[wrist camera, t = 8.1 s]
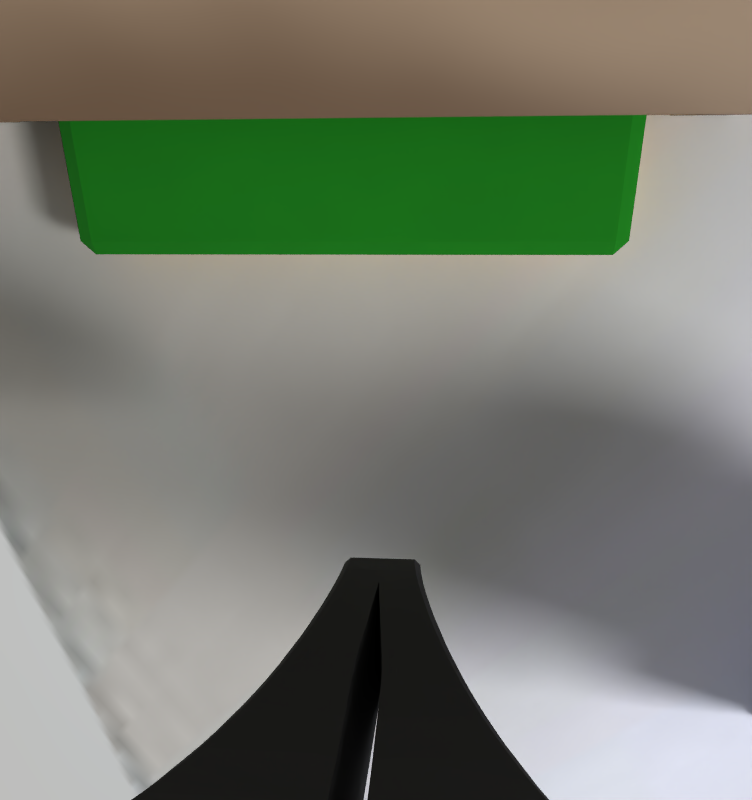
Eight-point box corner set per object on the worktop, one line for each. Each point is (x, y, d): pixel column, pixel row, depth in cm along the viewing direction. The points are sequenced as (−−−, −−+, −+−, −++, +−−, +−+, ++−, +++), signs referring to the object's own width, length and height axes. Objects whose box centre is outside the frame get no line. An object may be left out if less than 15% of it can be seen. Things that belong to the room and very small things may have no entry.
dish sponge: (73, -51, 16) (17, -79, 14) (641, -68, 15) (679, -100, 13) (120, 239, 19) (80, 254, 17) (602, 239, 18) (628, 256, 16)
